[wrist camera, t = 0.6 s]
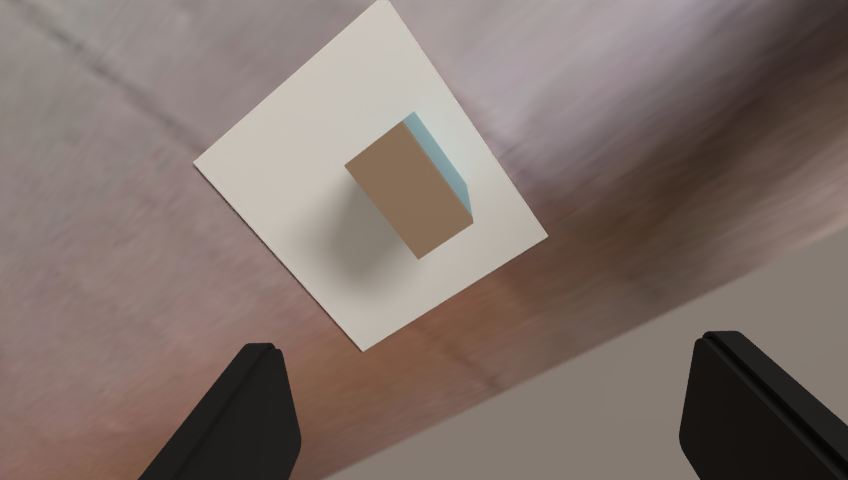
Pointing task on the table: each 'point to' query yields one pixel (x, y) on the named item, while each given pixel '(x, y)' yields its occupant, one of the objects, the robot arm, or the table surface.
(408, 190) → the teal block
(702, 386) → the robot arm
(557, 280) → the table surface
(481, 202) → the board
